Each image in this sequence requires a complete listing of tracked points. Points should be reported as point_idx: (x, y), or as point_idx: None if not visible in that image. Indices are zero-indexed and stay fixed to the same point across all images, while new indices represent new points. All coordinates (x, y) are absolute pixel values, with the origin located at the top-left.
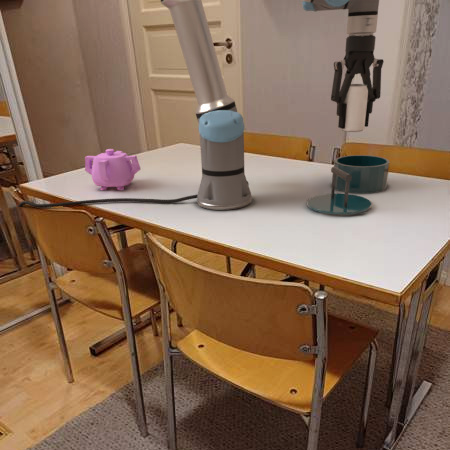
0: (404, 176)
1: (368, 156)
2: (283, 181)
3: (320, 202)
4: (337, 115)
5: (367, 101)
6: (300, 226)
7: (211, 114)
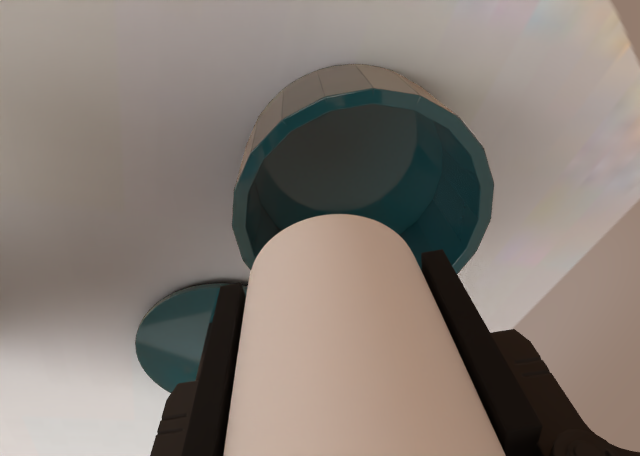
0: (603, 56)
1: (444, 126)
2: (4, 26)
3: (174, 351)
4: (181, 391)
5: (534, 453)
6: (127, 429)
7: None
